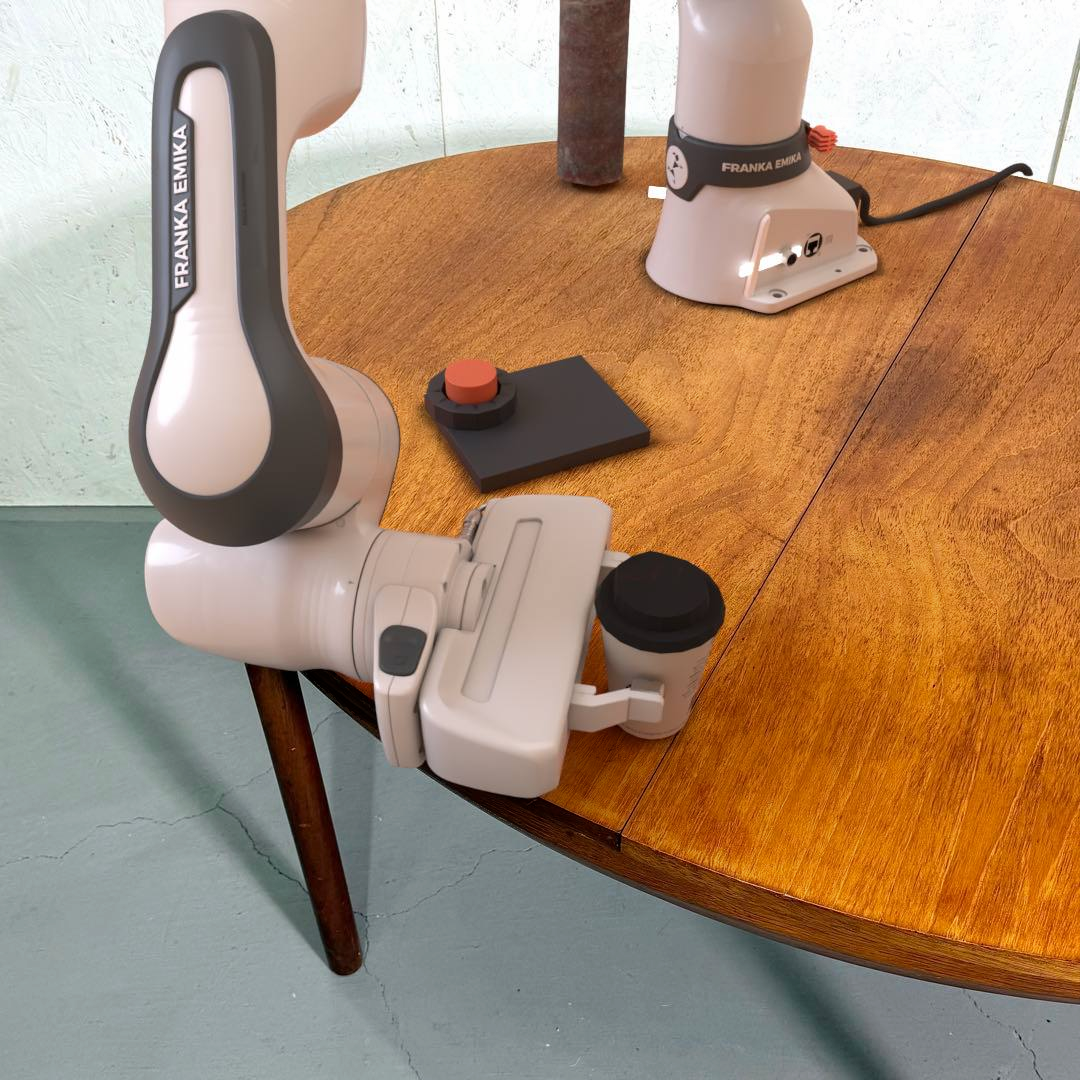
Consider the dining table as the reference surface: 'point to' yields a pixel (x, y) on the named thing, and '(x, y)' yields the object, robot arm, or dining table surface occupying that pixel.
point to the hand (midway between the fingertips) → (672, 646)
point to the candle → (592, 90)
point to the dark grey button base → (536, 423)
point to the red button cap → (471, 381)
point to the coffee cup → (658, 631)
